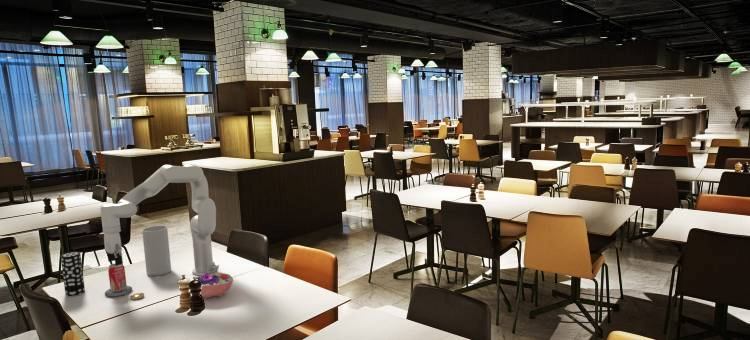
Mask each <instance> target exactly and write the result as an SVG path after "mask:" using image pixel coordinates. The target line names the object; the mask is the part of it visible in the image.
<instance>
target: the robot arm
mask: <svg viewBox="0 0 750 340" xmlns="http://www.w3.org/2000/svg"><path fill="white" fill-rule="evenodd" d="M169 183H172V184H173V183H174V184H175V183H176V184H178V183H179V184H181V183H183V184H184V183H189V184H190V187H191V208H192V209H191V210H192V211H193V212H195V213H197V214H196V215H195V216H193V217H192V218H191V220H190V221H189V229H190V233H191V238H192V248H193V261H194V268H193V269H192V270H191V271H192V273H191V274H193V275H195V276H201V275H202V274H203V273H208V274H214V273H215V272H216V271H218V270H219V268H220V265H219V264H216V262H215V261H214V260H213V247H212V246H213V245H212V237H211V235H213V233H214V232H215V230H216V227H217V207H216V203H215V201H214V200H213V199H211V198H210V196H209V183H208V180H207V177H206V175H205V174H204V171H203V169H202V168H201V167H200V166H198V165H195V164H190V163H187V164H184V165H182V166H181V165H171V164H164V165H162V166H161V167H159V168H158V169H157V170H156V171H155V172H154V173H153V174H151V175H150V176H149V177H148V178H147V179H145V181H144V182H142V183H141V184H138V185H137V186H136V187H134V188H133V189H131V190H130V191H128V192H127V193H126V194H125V195H124V196H122V198H120V199H119V201H117V203H106V204H103V205H101V206H100V218H101V225H102V234H104V235H103V239H104V240H103V242H104V250H105V252H107V253H106V254H107V260H108V262H109V263H110V262H114V264H115V265H116V266H118V265H122V264H123V265H124V261H123V253H122V252H123V249H122V248H123V247H122V239H121V235H120V232H122V230H121V222H120V218H121V219H123V218H131V217H134V216H135V215H136V214H137V211H138V208H137V205H139V203H141V202H142V201H144V200H146V199H148V198H151V197H154V196H156V195H157V194H158V193H160V191H162V190H163V189H164V188H165V187H167V185H169Z"/></svg>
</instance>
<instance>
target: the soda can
mask: <svg viewBox="0 0 750 340" xmlns="http://www.w3.org/2000/svg"><path fill="white" fill-rule="evenodd" d="M125 269H126V268H125V266H124V263H123V264H122V265H118V266H116V265H115V263H111V264H109V265H108V269H107V271H108V280H109V285H110V286H109V287H110V288H109V289H111V291H112V292H121V291H123V290H125V289H126V287H127V286H128V285H127V277H126V270H125Z"/></svg>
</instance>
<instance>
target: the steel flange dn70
mask: <svg viewBox="0 0 750 340" xmlns="http://www.w3.org/2000/svg"><path fill="white" fill-rule="evenodd" d="M132 292H133V286H130V285H127V287H126V289H125V290H123V291H121V292H112V291H111V288H109V289H107V290H105V292H104V296H105V297H106V298H119V297H123V296H126V295H129V294H130V293H132Z"/></svg>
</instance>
